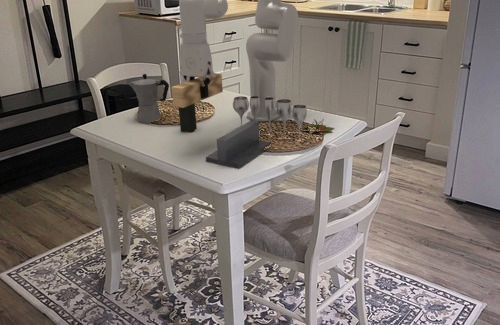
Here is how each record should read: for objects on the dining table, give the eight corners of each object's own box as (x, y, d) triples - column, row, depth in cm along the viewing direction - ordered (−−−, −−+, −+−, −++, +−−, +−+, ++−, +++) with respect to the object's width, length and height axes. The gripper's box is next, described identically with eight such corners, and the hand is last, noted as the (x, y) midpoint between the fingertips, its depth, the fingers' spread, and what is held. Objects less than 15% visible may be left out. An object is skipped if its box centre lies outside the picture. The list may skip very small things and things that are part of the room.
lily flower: (294, 133, 177) (294, 121, 175) (310, 123, 186) (311, 111, 184) (325, 139, 171) (325, 127, 169) (340, 129, 180) (341, 117, 178)
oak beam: (213, 90, 169) (212, 72, 167) (222, 91, 167) (221, 74, 165) (173, 106, 154) (171, 87, 152) (183, 107, 152) (181, 88, 150)
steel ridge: (240, 140, 171) (239, 118, 168) (271, 146, 165) (271, 123, 162) (206, 161, 155) (204, 137, 152) (238, 168, 149) (237, 143, 146)
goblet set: (309, 138, 171) (309, 101, 165) (302, 144, 166) (302, 105, 161) (239, 127, 184) (237, 91, 179) (230, 131, 180) (229, 95, 174)
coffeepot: (129, 124, 191) (123, 77, 184) (136, 116, 200) (130, 71, 193) (169, 123, 190) (165, 76, 183) (174, 115, 199) (170, 70, 192)
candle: (193, 132, 180) (187, 62, 170) (179, 131, 181) (173, 62, 171) (197, 127, 185) (192, 59, 175) (184, 127, 186) (178, 59, 176)
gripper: (165, 38, 155) (171, 96, 162) (208, 42, 146) (212, 103, 153) (181, 34, 161) (186, 90, 168) (223, 38, 152) (227, 97, 159)
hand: (198, 96), depth 161 cm, fingers closed on oak beam, 4 cm apart
